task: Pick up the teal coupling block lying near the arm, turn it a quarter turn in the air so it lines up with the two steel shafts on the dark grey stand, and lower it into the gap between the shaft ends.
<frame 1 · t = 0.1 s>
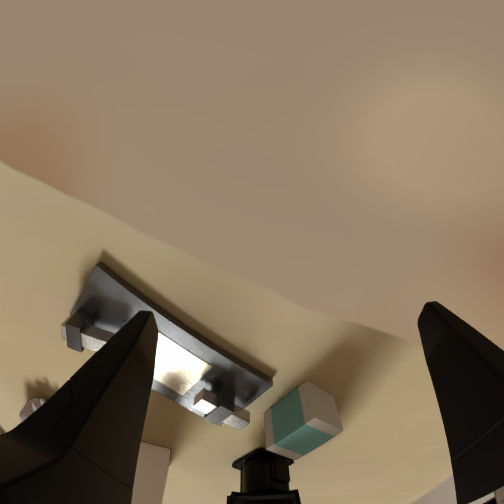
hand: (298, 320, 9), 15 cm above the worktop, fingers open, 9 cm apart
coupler: (298, 405, 30), on the worktop
shaft stand: (165, 354, 28), on the worktop
milk: (150, 452, 34), on the worktop
charger: (54, 415, 33), on the worktop
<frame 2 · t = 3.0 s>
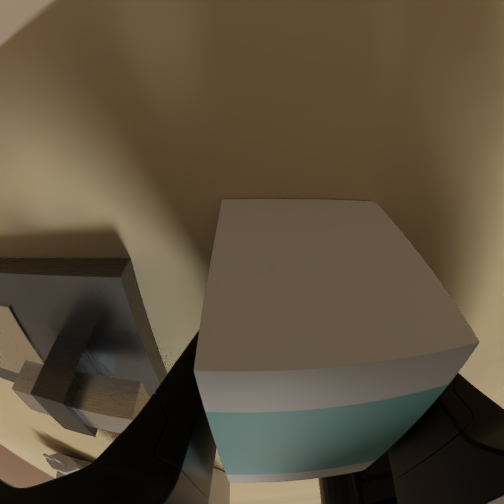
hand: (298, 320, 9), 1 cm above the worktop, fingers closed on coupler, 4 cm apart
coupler: (293, 294, 10), on the worktop, touching gripper
milk: (187, 466, 22), on the worktop
charger: (91, 461, 27), on the worktop
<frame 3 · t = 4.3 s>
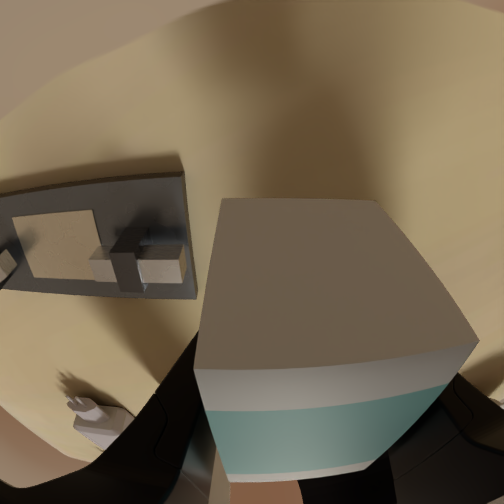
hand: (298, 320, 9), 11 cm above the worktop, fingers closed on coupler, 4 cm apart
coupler: (293, 293, 10), point 9 cm above the worktop, touching gripper
shaft stand: (64, 240, 19), on the worktop
milk: (196, 391, 30), on the worktop
charger: (107, 409, 35), on the worktop
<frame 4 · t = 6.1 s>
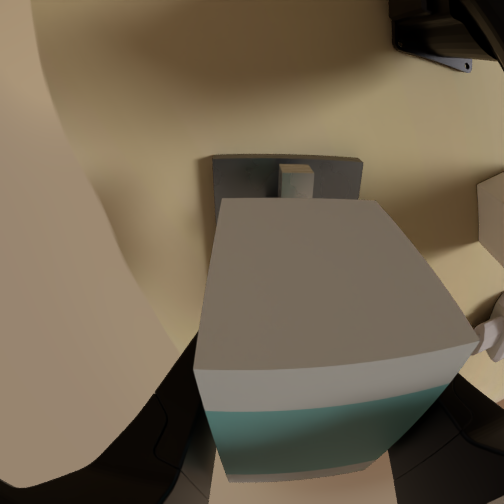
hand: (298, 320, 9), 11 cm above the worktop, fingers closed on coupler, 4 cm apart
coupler: (293, 293, 10), point 10 cm above the worktop, touching gripper
shaft stand: (281, 286, 23), on the worktop
milk: (498, 202, 19), on the worktop
charger: (497, 313, 27), on the worktop
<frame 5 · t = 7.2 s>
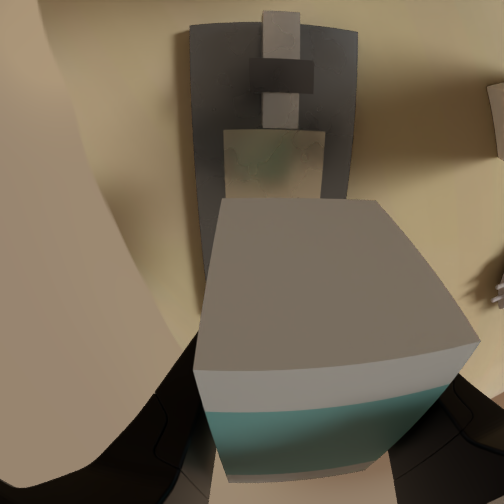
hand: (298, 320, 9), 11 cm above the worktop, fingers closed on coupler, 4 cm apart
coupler: (293, 293, 10), point 10 cm above the worktop, touching gripper
shaft stand: (272, 190, 18), on the worktop
when the fingers open (3 cm above the worktop, at t = 9.2 s): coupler drops 1 cm, resting on shaft stand.
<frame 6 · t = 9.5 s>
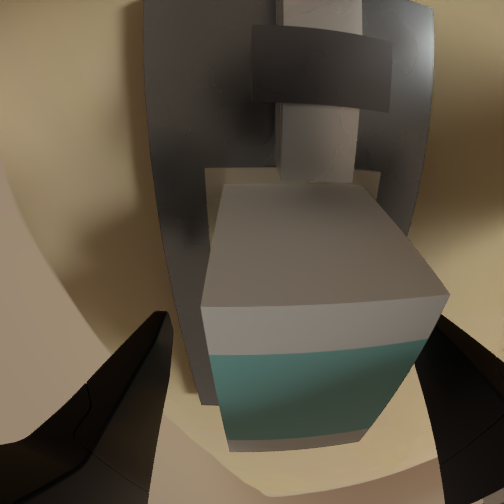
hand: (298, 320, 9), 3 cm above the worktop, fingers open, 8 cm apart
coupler: (289, 272, 11), point 1 cm above the worktop, touching shaft stand
shaft stand: (286, 257, 12), on the worktop
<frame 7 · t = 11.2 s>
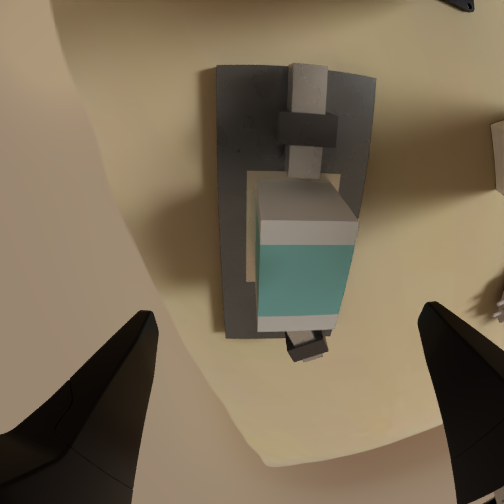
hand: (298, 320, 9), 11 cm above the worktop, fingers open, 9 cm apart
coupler: (290, 230, 19), point 1 cm above the worktop, touching shaft stand
shaft stand: (288, 224, 20), on the worktop
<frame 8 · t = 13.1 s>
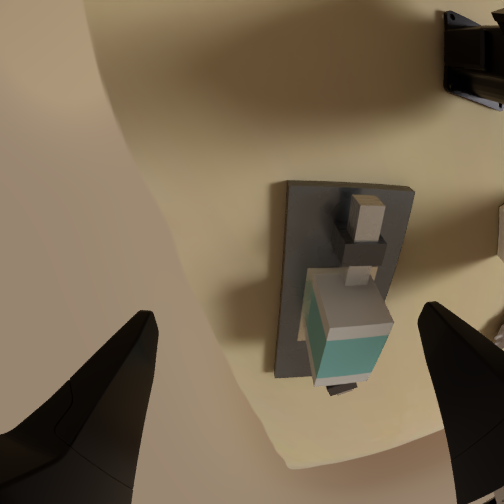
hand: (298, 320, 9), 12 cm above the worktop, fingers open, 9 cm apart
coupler: (335, 306, 23), point 1 cm above the worktop, touching shaft stand
shaft stand: (332, 298, 24), on the worktop
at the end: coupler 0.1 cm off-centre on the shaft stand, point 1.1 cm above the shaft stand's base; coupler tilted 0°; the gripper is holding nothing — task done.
